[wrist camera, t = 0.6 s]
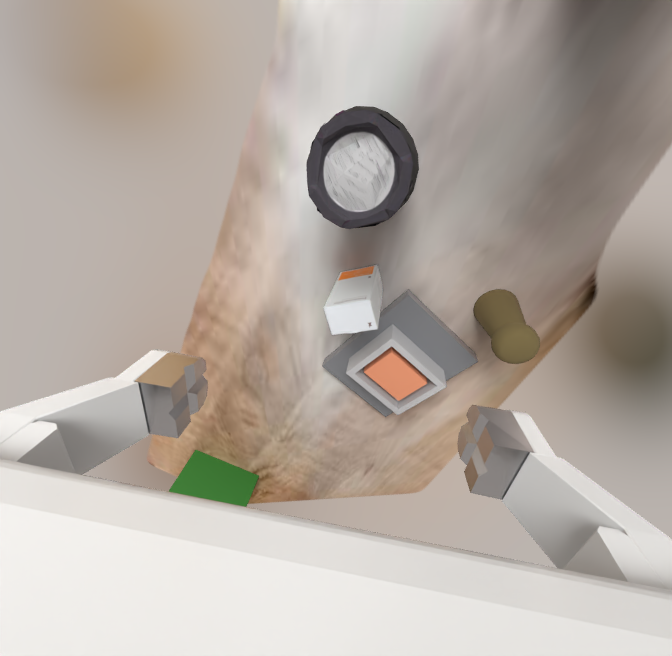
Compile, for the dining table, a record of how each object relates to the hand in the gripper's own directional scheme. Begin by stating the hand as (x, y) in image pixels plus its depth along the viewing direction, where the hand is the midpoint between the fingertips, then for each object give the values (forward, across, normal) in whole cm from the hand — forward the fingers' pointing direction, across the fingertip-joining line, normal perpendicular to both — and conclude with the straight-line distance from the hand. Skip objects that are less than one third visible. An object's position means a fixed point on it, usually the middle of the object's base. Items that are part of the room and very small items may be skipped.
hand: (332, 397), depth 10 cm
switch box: (+39, -8, +21) cm, 45 cm away
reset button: (+36, -8, +22) cm, 42 cm away
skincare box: (+38, 0, +8) cm, 39 cm away
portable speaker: (+37, 0, -8) cm, 38 cm away
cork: (+38, -21, +9) cm, 44 cm away
